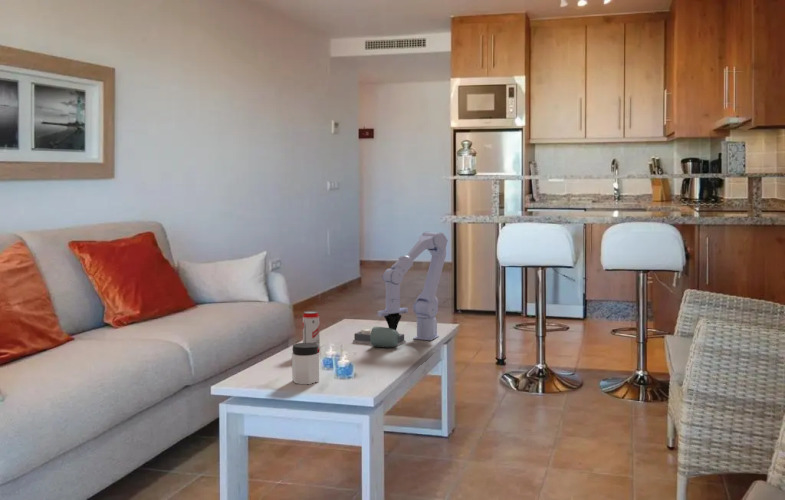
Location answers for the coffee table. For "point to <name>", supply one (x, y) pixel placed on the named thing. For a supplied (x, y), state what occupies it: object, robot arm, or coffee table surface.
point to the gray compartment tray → (366, 338)
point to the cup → (384, 337)
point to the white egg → (365, 331)
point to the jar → (305, 363)
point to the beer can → (311, 328)
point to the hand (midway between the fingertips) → (392, 332)
